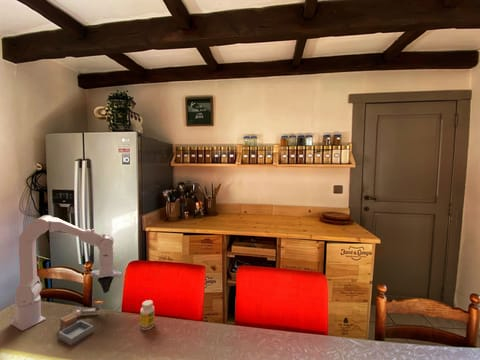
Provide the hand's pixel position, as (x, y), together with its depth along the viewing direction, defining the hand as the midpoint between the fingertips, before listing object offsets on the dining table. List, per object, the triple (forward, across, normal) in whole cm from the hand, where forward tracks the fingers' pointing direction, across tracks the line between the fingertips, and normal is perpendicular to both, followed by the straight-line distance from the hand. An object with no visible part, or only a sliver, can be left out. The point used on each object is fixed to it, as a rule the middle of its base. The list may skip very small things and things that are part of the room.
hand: (106, 291), depth 107 cm
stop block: (+8, -6, -15) cm, 18 cm away
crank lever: (+7, -4, -6) cm, 10 cm away
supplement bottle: (+8, +25, -10) cm, 28 cm away
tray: (+8, +1, -18) cm, 20 cm away
